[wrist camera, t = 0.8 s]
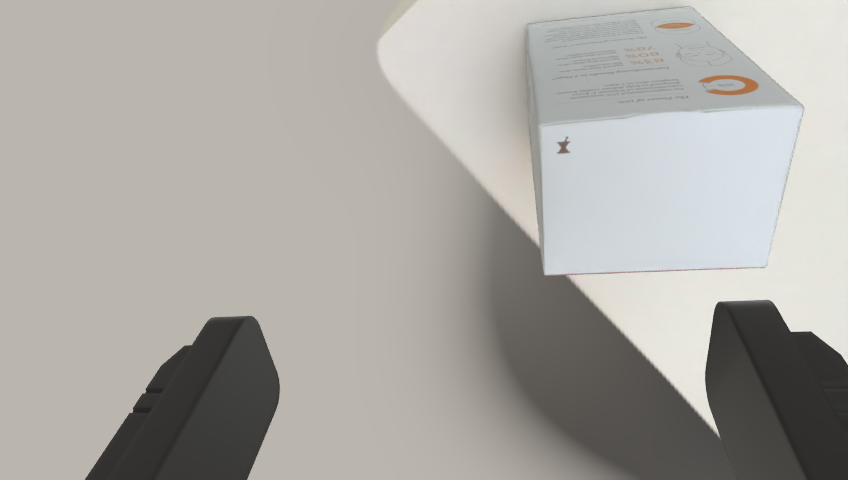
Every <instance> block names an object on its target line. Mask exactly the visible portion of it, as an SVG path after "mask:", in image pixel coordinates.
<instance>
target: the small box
mask: <svg viewBox="0 0 848 480" xmlns="http://www.w3.org/2000/svg"><path fill="white" fill-rule="evenodd" d="M526 40H527V76H528V105H529V130H530V145H531V157H532V170H533V180H534V189H535V199H536V210H537V220H538V231H539V240H540V249H541V257H542V265H543V270H544V275H546V276H553V275H578V274H605V273H629V272H657V271H682V270H709V269H739V268H765V267H766V266H767V263H768V259H769V254H770V250H771V245H772V241H773V236H774V232H775V228H776V223H777V219H778V215H779V211H780V207H781V203H782V199H783V194H784V190H785V186H786V182H787V178H788V173H789V169H790V165H791V161H792V157H793V153H794V149H795V144H796V140H797V136H798V132H799V128H800V124H801V120H802V116H803V112H804V106H803V105H802V104H801V103H800V102H799V101H797V100H796V99H795V98H794V97H793V96H791V95H790V94H789V93H788V92H787V91H786V90H785V89H783V88H782V87H781V86H780V85H779V84H778V83H777V82H775V81H774V80H773V79H772V78H771V77H770V76H769V75H768V74H766V73H765V72H764V71H763V70H762V69H761V68H760V67H759V66H758V65H757V64H755V63H754V62H753V61H752V60H751V59H750V58H749V57H748V56H746V55H745V54H744V53H743V52H742V51H741V50H740V49H738V48H737V47H736V46H735V45H734V44H733V43H732V42H731V41H730V40H728V39H727V38H726V37H725V36H724V35H723V34H722V33H721V32H719V31H718V30H717V29H716V28H715V27H714V26H713V25H712V24H710V23H709V22H708V21H707V20H706V19H705V18H704V17H703V16H701V15H700V14H699V13H698V12H697V11H696V10H695V9H694V8H692V7H683V8H673V9H663V10H653V11H642V12H632V13H622V14H613V15H604V16H595V17H585V18H576V19H567V20H558V21H550V22H541V23H533V24H528V25H527V27H526Z"/></svg>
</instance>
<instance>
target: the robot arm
mask: <svg viewBox="0 0 848 480" xmlns="http://www.w3.org/2000/svg"><path fill="white" fill-rule="evenodd" d="M705 382H706V392H707V398H708V402H709V406H710V409H711V412H712V415H713V418H714V420H715V423H716V426H717V429H718V432H719V434H720V437H721V440H722V443H723V445H724V448H725V451H726V454H727V457H728V460H729V462H730V465H731V468H732V471H733V474H734V476H735V479H736V480H848V365H847V363H846V362H845V360H844V359H843V357H842V356H841V354H839V353H838V352H837V351H835V350H834V349H833V348H831V347H830V346H829V345H828V344H826V343H825V342H824V341H822V340H821V339H820V338H818V337H817V336H816V335H815V334H813V333H812V332H790V330H789V328H788V327H787V325H786V323H785V322H784V320H783V318H782V316H781V315H780V313H779V311H778V309H777V308H776V306H775V305H774V304H773V302H771V301H770V300H755V301H726V302H718V303H717V305H716V307H715V310H714V316H713V323H712V330H711V336H710V343H709V350H708V357H707V363H706V371H705ZM279 390H280V385H279V378H278V374H277V371H276V368H275V366H274V363H273V360H272V358H271V355H270V352H269V350H268V347H267V344H266V342H265V339H264V336H263V333H262V331H261V328H260V325H259V323H258V321H257V320H256V319H255V318H254V317H252V316H238V317H214V318H211V319H210V320H209V321H207V323H206V324H205V326H204V327H203V329H202V330H201V332H200V333H199V335H198V337H197V338H196V340H195V342H194V343H193V345H190V346H184V347H183V348H182V349H180V350H179V351H178V352H177V353H176V354H175V355H173V356H172V357H171V358H170V359H169V360H168V361H166V363H164V364H163V365H162V366H161V367H160V369H159V370H158V371H157V373H156V374H155V376H154V377H153V379H152V381H151V382H150V383H149V385H148V386H147V388H146V393H145V394H142V395H141V397H140V398H139V400H138V401H137V403H136V404H135V406H134V407H133V413H129V415H128V416H127V418H126V419H125V421H124V422H123V424H122V425H121V427H120V428H119V430H118V431H117V433H116V434H115V436H114V437H113V439H112V440H111V442H110V443H109V445H108V446H107V448H106V449H105V451H104V452H103V454H102V455H101V457H100V458H99V459H98V461H97V463H96V464H95V465H94V467H93V469H92V470H91V472H90V473H89V474H88V476H87V477H86V479H85V480H247V478H248V476H249V474H250V471H251V469H252V466H253V464H254V461H255V459H256V456H257V454H258V452H259V449H260V447H261V445H262V442H263V440H264V437H265V435H266V433H267V430H268V428H269V425H270V423H271V421H272V418H273V416H274V413H275V411H276V408H277V405H278V401H279V392H280V391H279Z"/></svg>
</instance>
